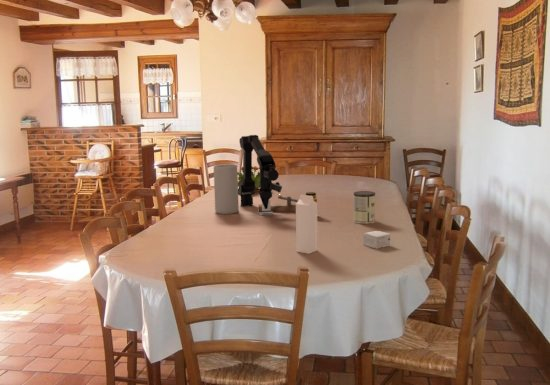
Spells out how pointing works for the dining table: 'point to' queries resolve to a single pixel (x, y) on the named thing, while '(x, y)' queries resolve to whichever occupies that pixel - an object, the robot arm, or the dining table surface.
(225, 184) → the cylinder vase
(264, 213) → the rubber mat
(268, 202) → the cap block
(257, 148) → the robot arm
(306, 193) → the condiment
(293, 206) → the plane body
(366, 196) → the coffee can
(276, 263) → the dining table surface
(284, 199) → the lever
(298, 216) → the milk
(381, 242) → the small box
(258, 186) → the potted flower
